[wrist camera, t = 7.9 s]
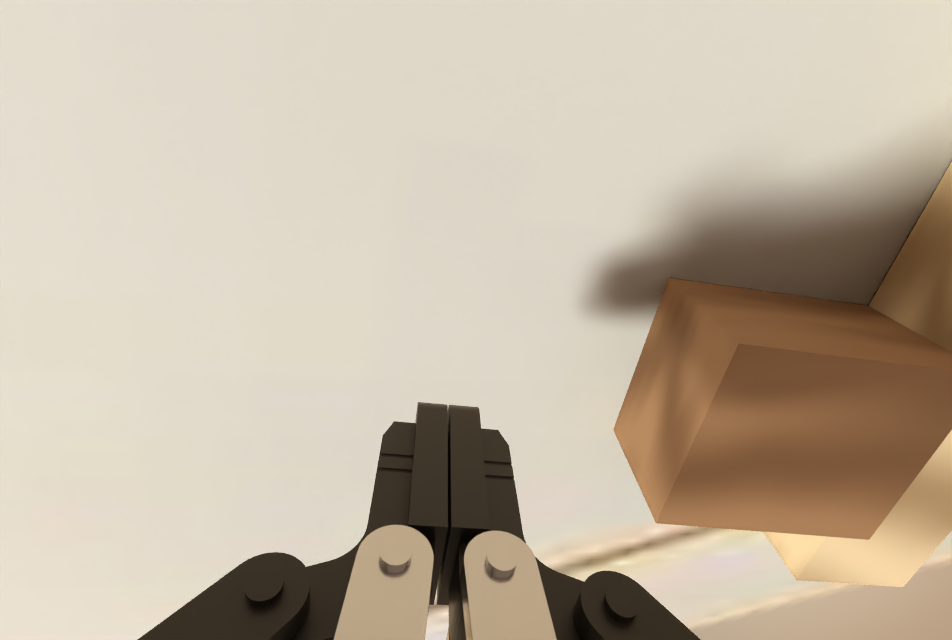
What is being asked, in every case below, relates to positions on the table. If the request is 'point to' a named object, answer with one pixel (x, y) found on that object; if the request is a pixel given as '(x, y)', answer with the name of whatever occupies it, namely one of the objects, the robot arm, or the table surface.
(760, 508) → the walnut block
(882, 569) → the ash board
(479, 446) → the robot arm
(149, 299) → the table surface
